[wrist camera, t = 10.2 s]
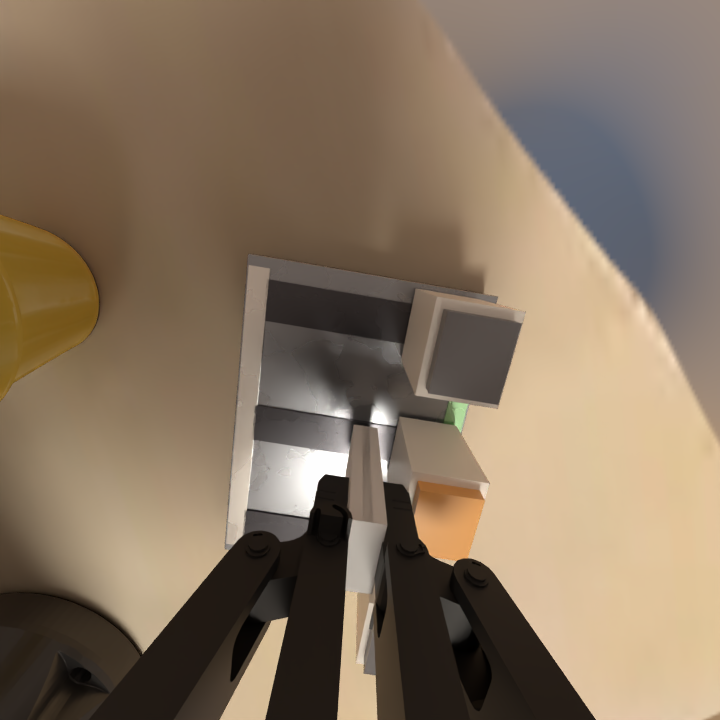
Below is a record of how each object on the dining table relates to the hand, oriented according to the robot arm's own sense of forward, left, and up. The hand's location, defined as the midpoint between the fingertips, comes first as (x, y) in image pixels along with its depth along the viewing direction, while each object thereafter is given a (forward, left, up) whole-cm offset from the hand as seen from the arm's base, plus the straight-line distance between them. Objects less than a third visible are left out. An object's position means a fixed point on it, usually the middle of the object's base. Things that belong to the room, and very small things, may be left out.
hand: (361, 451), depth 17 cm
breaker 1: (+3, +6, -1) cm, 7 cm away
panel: (-1, 0, -4) cm, 4 cm away
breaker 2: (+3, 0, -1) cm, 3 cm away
